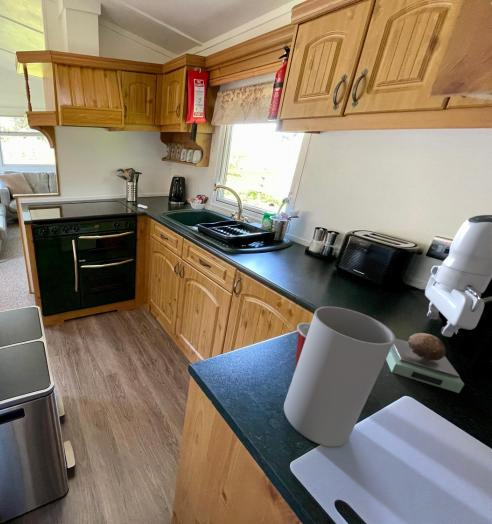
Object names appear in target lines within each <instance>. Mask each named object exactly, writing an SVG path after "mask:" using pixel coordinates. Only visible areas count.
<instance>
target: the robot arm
mask: <svg viewBox="0 0 492 524" xmlns="http://www.w3.org/2000/svg"><path fill="white" fill-rule="evenodd" d="M448 252H449V253H448V255H447V257H446V258H445V259H443V261H442V262H441V265H433V266H432V267H431V270H430V273H431V275H430V277H429V279H428V280H427V284H426V286H425V289H424V296H425V297H426V298H427V299H428V300H429V301H430V302H429V305H428V312H427V314H426V316H427V317H428V319H430V320H435V321H437V320H438V318H439V316H440V314H442V315H443V317H445V319H446V320H447V321H446V325H445V326H442V327H441V329H440V333H441V334H442V336H443V337H446V338H447V337H448V338H451V337H453V335H454V333H455V332H457V331H458V330H459V329H464V330H469V331H471V330H473V329H475V328H476V327H477V325H478V323H479V321H480V319H481V316H482V314H483V312H484V308H485V301H484V300H483V299H482V297H481V296H482V294H483V293H484V292H485V291H486V289H487V288H488V285H489V284H490V282H491V280H492V214H481V215H474V216H472V217H469V218H467V219H466V220H465V221H464V222H463V223H462V225H461V226H460V227H459V229H458V231H457V232H456V234H455V236H454V237H453V240H452V242H451V243H450V246H449V251H448ZM439 312H440V314H439Z"/></svg>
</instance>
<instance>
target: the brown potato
mask: <svg viewBox="0 0 492 524" xmlns="http://www.w3.org/2000/svg"><path fill="white" fill-rule="evenodd" d="M407 342H408V344H409V347H410V349H411V351H412V352H413V353H414V354H416V355H417V356H418V357H420V358H422V359H426V360H440V359H441V358H443V357H444V356H445V355H446V352H447V351H446V346H445V344H444V343H443V341H442V340H441V339H440V338H438V337H437V336H435V335H433V334H430V333H425V332H418V333H413V334H412V335H410V336H409V337H408V340H407Z"/></svg>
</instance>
